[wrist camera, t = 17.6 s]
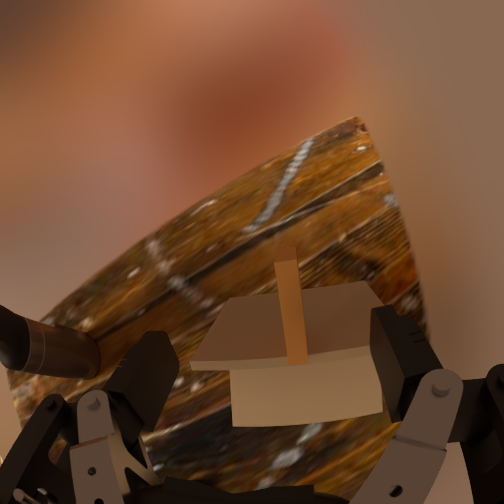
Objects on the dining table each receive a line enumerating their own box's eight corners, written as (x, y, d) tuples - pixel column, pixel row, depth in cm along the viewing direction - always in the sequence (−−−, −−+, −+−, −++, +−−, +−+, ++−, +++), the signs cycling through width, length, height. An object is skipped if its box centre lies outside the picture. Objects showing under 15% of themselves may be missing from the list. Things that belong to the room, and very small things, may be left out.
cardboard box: (249, 321, 41) (227, 305, 31) (353, 308, 38) (368, 287, 28) (254, 410, 35) (232, 426, 25) (363, 399, 33) (382, 411, 22)
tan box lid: (230, 304, 30) (218, 240, 29) (364, 287, 28) (359, 220, 27) (187, 377, 17) (158, 276, 16) (412, 354, 14) (416, 242, 13)
